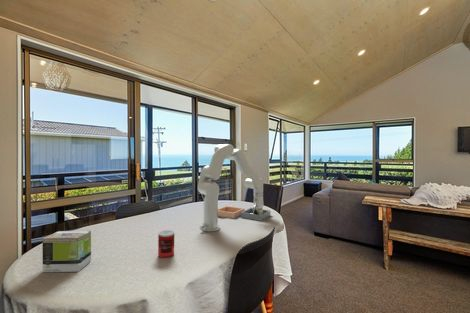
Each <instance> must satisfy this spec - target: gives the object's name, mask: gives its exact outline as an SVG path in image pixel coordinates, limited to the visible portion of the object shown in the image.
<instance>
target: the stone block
mask: <svg viewBox="0 0 470 313" xmlns="http://www.w3.org/2000/svg"><path fill="white" fill-rule="evenodd" d="M256 210H257V209H256ZM263 210H264V209H263V208H262V209H258V215H262V214H263ZM253 214H254V210H253Z"/></svg>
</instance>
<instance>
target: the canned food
mask: <svg viewBox="0 0 470 313" xmlns="http://www.w3.org/2000/svg"><path fill="white" fill-rule="evenodd" d="M157 237H158V240H157V241H158V243H157V244H158V246H157V247H158V253H157V254H158V257H159V258H162V259H165V258H171V257H172V256H174V254H175V231H173V230H171V229H169V230H167V229H166V230H161V231H159V232H158V236H157Z"/></svg>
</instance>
